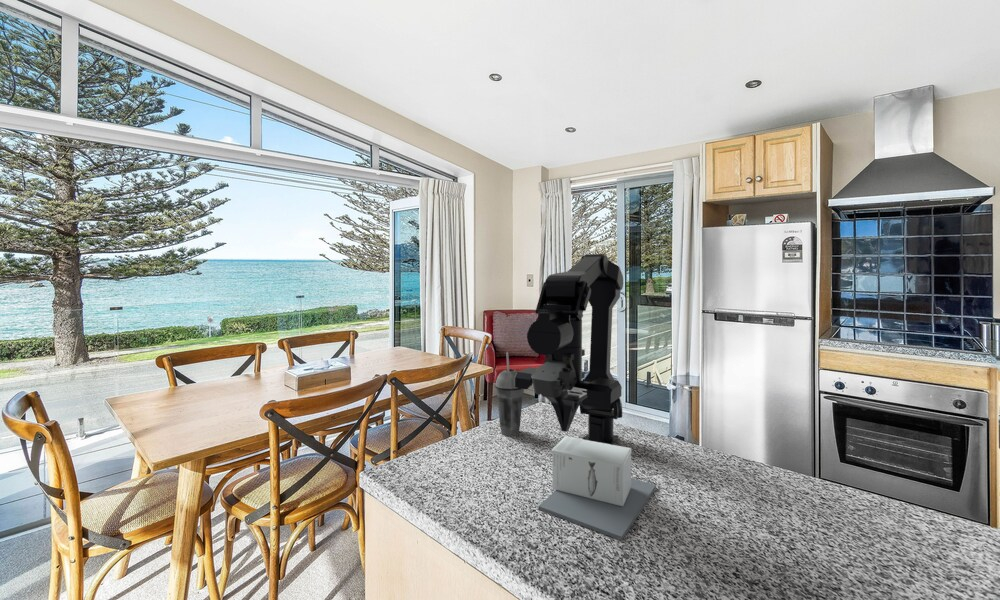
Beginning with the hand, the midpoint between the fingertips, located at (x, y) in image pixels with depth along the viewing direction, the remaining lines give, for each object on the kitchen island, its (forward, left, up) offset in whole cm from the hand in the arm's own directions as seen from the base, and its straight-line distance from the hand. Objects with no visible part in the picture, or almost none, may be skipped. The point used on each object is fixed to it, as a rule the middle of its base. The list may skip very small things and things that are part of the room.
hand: (565, 430), depth 75 cm
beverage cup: (-16, -23, -11) cm, 30 cm away
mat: (0, +7, -10) cm, 12 cm away
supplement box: (0, -2, -6) cm, 7 cm away
